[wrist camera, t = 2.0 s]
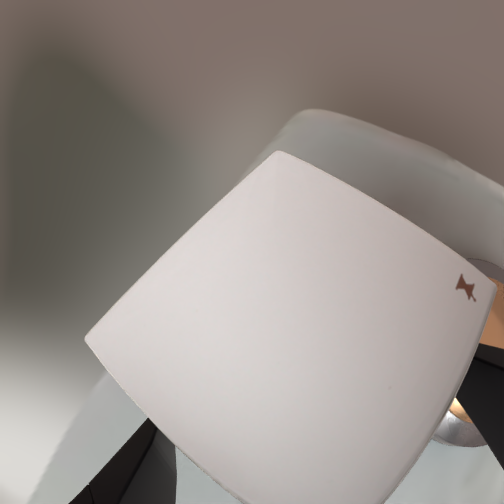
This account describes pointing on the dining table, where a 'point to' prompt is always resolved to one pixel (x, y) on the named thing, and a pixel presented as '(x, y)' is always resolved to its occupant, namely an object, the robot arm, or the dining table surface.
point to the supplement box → (298, 339)
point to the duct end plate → (495, 334)
